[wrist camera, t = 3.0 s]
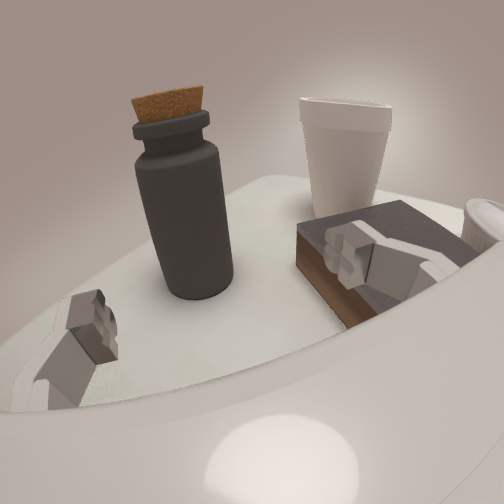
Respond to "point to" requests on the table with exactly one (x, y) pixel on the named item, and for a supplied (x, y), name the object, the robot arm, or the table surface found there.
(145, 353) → the table surface
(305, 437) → the robot arm
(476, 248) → the ramekin
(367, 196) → the foam cup
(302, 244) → the podium
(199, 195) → the bottle
